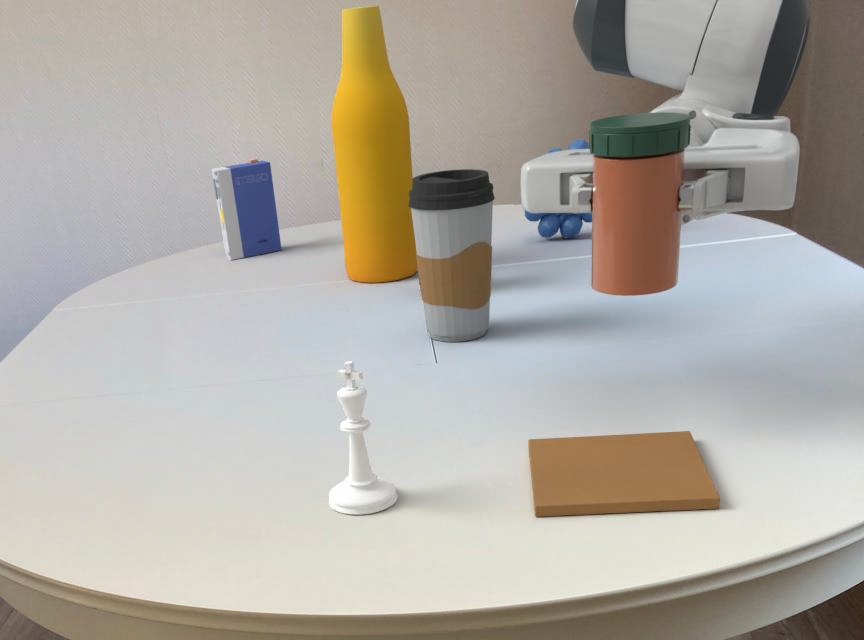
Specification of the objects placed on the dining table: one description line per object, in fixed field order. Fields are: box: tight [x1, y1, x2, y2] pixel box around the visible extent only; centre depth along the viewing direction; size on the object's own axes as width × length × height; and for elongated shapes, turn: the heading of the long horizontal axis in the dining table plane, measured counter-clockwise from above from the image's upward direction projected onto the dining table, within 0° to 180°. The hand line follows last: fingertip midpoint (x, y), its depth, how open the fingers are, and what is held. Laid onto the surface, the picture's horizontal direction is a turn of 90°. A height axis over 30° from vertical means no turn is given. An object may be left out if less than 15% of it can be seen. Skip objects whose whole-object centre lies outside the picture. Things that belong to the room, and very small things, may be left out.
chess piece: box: [328, 360, 399, 516], centre depth 73 cm, size 5×5×10 cm
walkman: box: [211, 158, 283, 261], centre depth 147 cm, size 8×3×12 cm, turn 117°
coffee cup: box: [409, 168, 496, 343], centre depth 104 cm, size 8×8×15 cm
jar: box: [590, 149, 685, 297], centre depth 75 cm, size 6×6×10 cm
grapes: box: [524, 139, 592, 239], centre depth 139 cm, size 12×7×12 cm, turn 88°
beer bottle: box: [330, 5, 418, 284], centre depth 126 cm, size 9×9×29 cm
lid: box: [588, 112, 691, 157], centre depth 72 cm, size 7×7×2 cm
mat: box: [527, 430, 721, 518], centre depth 75 cm, size 12×12×1 cm
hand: (634, 200), depth 74 cm, fingers closed on jar, 6 cm apart
